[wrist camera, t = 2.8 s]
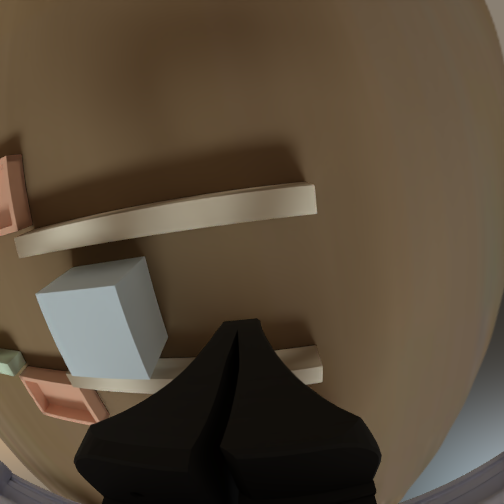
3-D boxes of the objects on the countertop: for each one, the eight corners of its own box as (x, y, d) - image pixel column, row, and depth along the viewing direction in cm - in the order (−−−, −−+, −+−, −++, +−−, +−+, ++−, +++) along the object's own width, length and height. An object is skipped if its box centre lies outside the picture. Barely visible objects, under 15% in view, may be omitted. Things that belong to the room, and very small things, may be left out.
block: (145, 255, 15) (114, 285, 11) (168, 335, 16) (149, 379, 12) (74, 266, 15) (35, 293, 11) (99, 338, 16) (72, 375, 13)
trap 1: (86, 373, 17) (77, 385, 16) (109, 414, 19) (103, 427, 17) (27, 365, 18) (18, 375, 16) (50, 404, 19) (43, 414, 17)
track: (305, 181, 13) (314, 184, 12) (316, 360, 17) (322, 382, 15) (-58, 257, 15) (-71, 264, 13) (-22, 353, 18) (-32, 363, 16)
